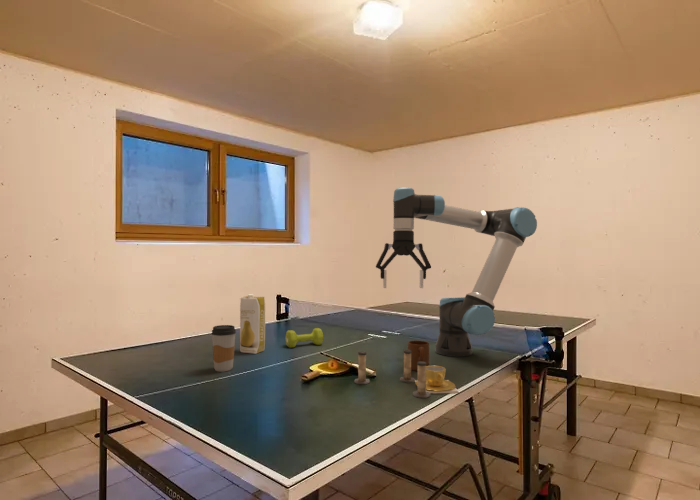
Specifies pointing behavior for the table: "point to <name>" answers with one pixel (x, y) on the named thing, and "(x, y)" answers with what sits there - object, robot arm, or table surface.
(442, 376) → the cup
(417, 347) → the mug
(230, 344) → the coffee cup
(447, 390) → the coaster
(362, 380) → the posts
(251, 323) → the juice carton
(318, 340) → the dumbbell
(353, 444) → the table surface
